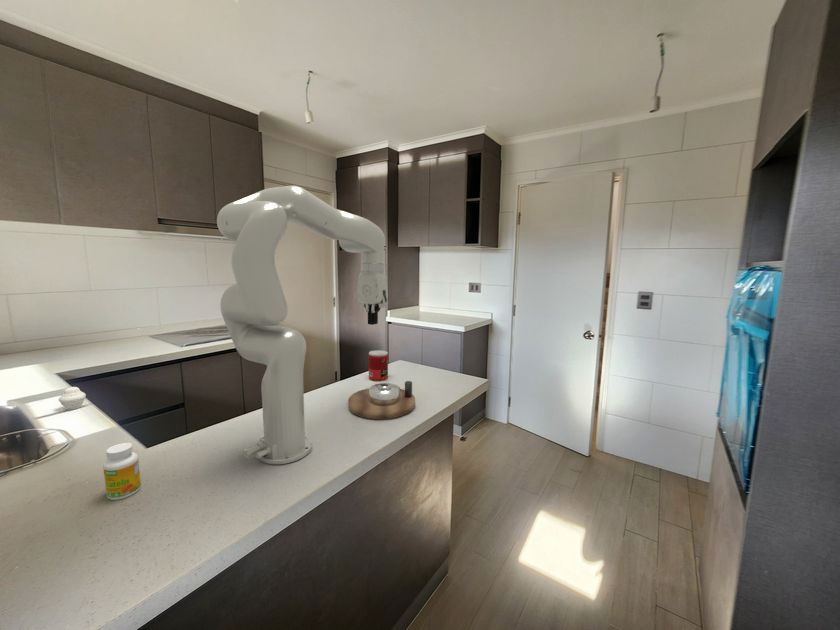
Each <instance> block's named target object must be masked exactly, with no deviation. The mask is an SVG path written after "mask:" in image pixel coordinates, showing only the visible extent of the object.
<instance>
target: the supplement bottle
mask: <svg viewBox="0 0 840 630" xmlns="http://www.w3.org/2000/svg"><path fill="white" fill-rule="evenodd" d="M133 450H134V449H133V444H132V443H131V442H124V443H118V444H115V445H112V446H110V447H108V448H107V449H106V453H105V454H106V458H107V459H106V460H105V461H104V463H103V466H102V467H103V475H104V483H105V484H104V485H105V491H106V492H105V493H106V498H107V499H108V500H112V501H115V500H116V501H117V500H122V499H125V498H128V497H130V496H133V495H134V494H136V493H137V492H138V491H139V490H140V489H141V487H142V482H141V481H142V480H141V472H140V471H141V470H140V464H139V463H140V462H139V456H138V454H137V453H135V452H134V451H133Z"/></svg>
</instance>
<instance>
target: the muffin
mask: <svg viewBox="0 0 840 630" xmlns="http://www.w3.org/2000/svg"><path fill="white" fill-rule="evenodd" d="M86 397H87V394H86V393H85V392H83V391H81V390H80V388H79V387H77V386H70V387H67V388H64V391H63V393H62V395H60V396H59V398H58V402H59V403H60V405H62V407H64V409H66V410H68V411H69V410H70V411H71V410H77V409H79V408H81V407H82V405H83V403H84V401H85V400H86Z"/></svg>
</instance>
